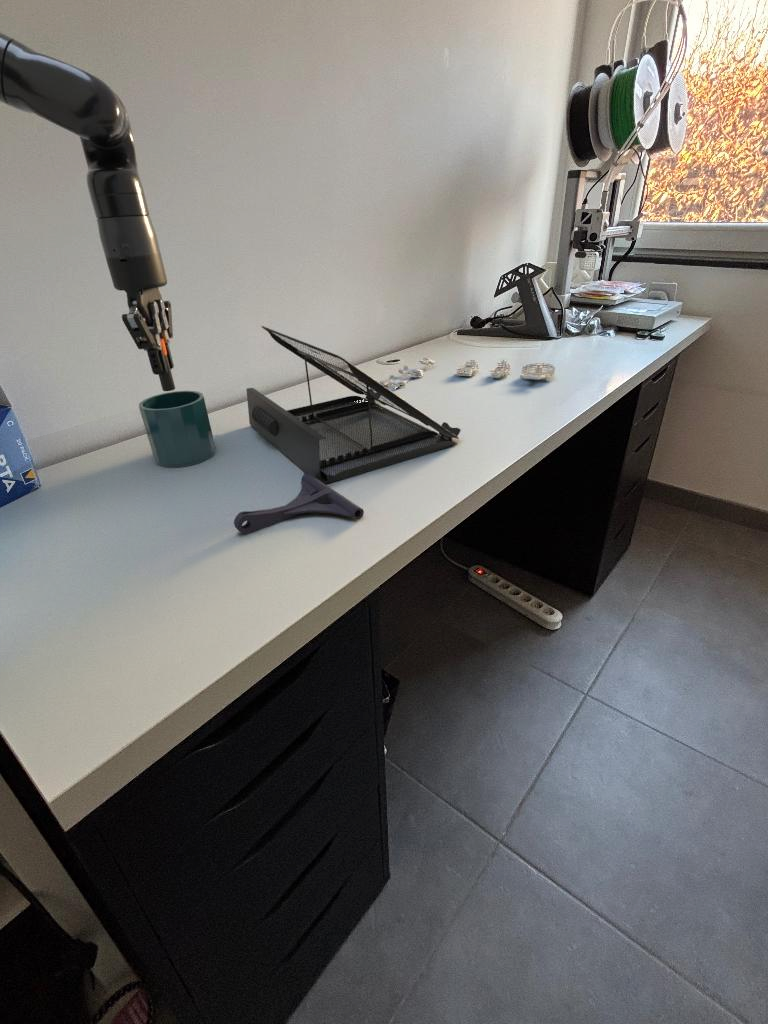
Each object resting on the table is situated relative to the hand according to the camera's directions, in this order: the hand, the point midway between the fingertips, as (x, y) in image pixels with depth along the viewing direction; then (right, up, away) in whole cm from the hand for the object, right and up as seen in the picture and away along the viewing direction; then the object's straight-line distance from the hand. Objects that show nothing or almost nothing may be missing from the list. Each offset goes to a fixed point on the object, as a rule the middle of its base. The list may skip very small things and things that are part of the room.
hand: (163, 371), depth 85 cm
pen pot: (+1, -13, +7) cm, 15 cm away
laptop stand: (+29, -9, +12) cm, 32 cm away
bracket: (+23, -23, -13) cm, 35 cm away
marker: (0, -3, +2) cm, 3 cm away
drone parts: (+55, +7, +36) cm, 66 cm away
